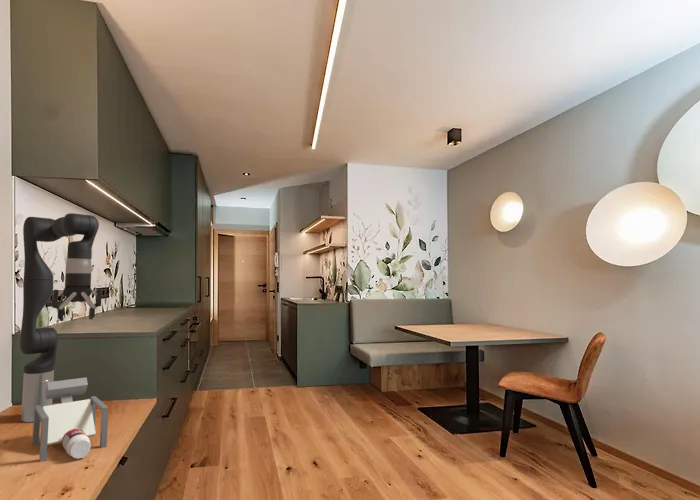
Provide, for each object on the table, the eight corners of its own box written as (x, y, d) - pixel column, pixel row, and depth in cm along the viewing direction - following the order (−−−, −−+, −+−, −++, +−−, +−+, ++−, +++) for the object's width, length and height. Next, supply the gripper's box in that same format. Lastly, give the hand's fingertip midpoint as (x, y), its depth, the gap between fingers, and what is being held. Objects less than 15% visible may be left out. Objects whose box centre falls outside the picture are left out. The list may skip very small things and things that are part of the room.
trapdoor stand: (32, 444, 136) (34, 405, 137) (93, 431, 148) (95, 396, 149) (40, 461, 124) (42, 418, 125) (106, 446, 135) (108, 407, 136)
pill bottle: (86, 427, 136) (95, 437, 128) (81, 448, 135) (89, 459, 127) (64, 427, 132) (72, 438, 124) (58, 449, 131) (65, 461, 123)
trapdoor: (41, 392, 141) (43, 382, 138) (87, 385, 149) (90, 376, 147) (45, 445, 130) (48, 436, 127) (95, 435, 138) (98, 426, 136)
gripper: (99, 272, 156) (97, 318, 155) (51, 271, 146) (49, 320, 145) (104, 272, 150) (102, 319, 149) (55, 271, 140) (52, 322, 139)
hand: (76, 320), depth 147 cm, fingers open, 8 cm apart
